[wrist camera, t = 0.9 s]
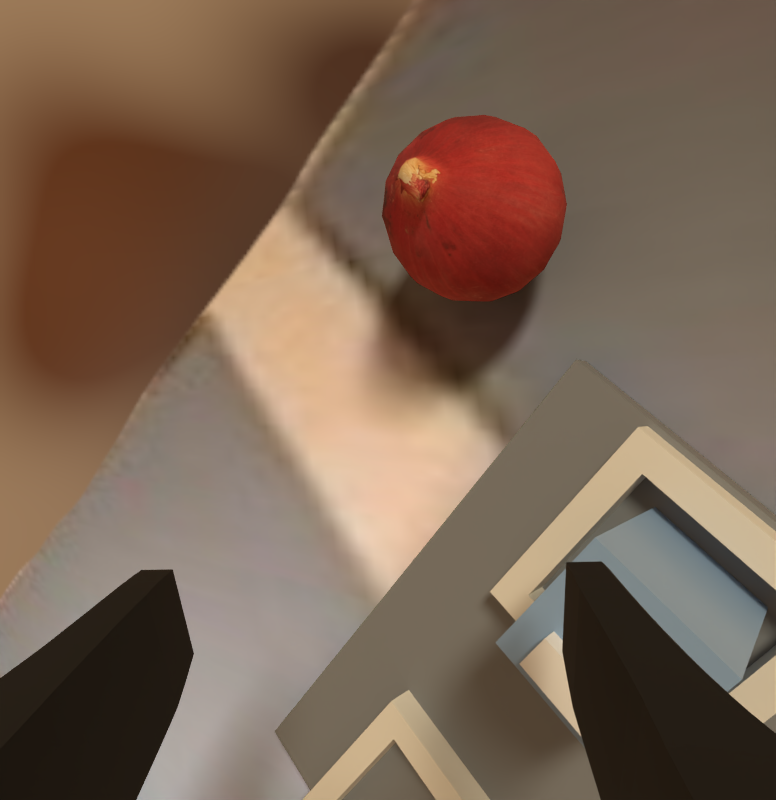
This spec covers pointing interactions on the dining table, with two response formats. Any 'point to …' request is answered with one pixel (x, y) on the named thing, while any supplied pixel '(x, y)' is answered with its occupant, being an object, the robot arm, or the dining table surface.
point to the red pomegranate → (474, 208)
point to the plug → (658, 594)
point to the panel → (516, 611)
